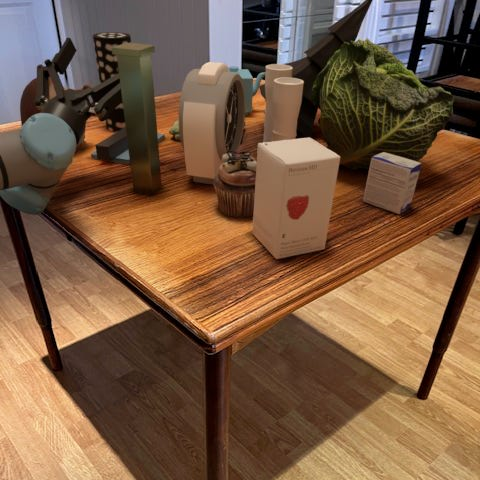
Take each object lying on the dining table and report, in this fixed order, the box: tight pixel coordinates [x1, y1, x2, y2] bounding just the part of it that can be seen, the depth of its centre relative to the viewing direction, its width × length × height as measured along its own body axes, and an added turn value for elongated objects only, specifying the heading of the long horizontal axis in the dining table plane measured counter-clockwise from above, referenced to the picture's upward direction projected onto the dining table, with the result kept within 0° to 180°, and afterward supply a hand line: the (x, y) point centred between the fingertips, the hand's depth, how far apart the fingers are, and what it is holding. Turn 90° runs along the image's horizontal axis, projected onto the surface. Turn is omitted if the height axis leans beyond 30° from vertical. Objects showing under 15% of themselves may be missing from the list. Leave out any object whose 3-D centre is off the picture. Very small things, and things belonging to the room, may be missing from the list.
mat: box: [90, 132, 166, 165], centre depth 107 cm, size 18×9×1 cm, turn 162°
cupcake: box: [213, 150, 257, 219], centre depth 82 cm, size 10×10×10 cm
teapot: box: [228, 65, 266, 117], centre depth 128 cm, size 16×18×11 cm
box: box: [362, 152, 422, 215], centre depth 85 cm, size 8×4×9 cm, turn 47°
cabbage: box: [310, 37, 455, 170], centre depth 96 cm, size 25×24×23 cm
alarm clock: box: [178, 61, 246, 186], centre depth 90 cm, size 18×8×20 cm, turn 164°
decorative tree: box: [259, 0, 373, 139], centre depth 110 cm, size 15×15×35 cm
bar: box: [94, 127, 128, 162], centre depth 105 cm, size 22×3×3 cm, turn 162°
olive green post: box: [112, 42, 163, 196], centre depth 82 cm, size 5×5×24 cm
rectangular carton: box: [251, 137, 340, 260], centre depth 71 cm, size 9×9×15 cm
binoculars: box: [262, 63, 304, 143], centre depth 95 cm, size 17×5×18 cm, turn 5°
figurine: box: [19, 77, 93, 152], centre depth 101 cm, size 14×16×15 cm
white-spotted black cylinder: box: [92, 31, 132, 133], centre depth 112 cm, size 8×8×20 cm
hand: (102, 47), depth 89 cm, fingers open, 13 cm apart
